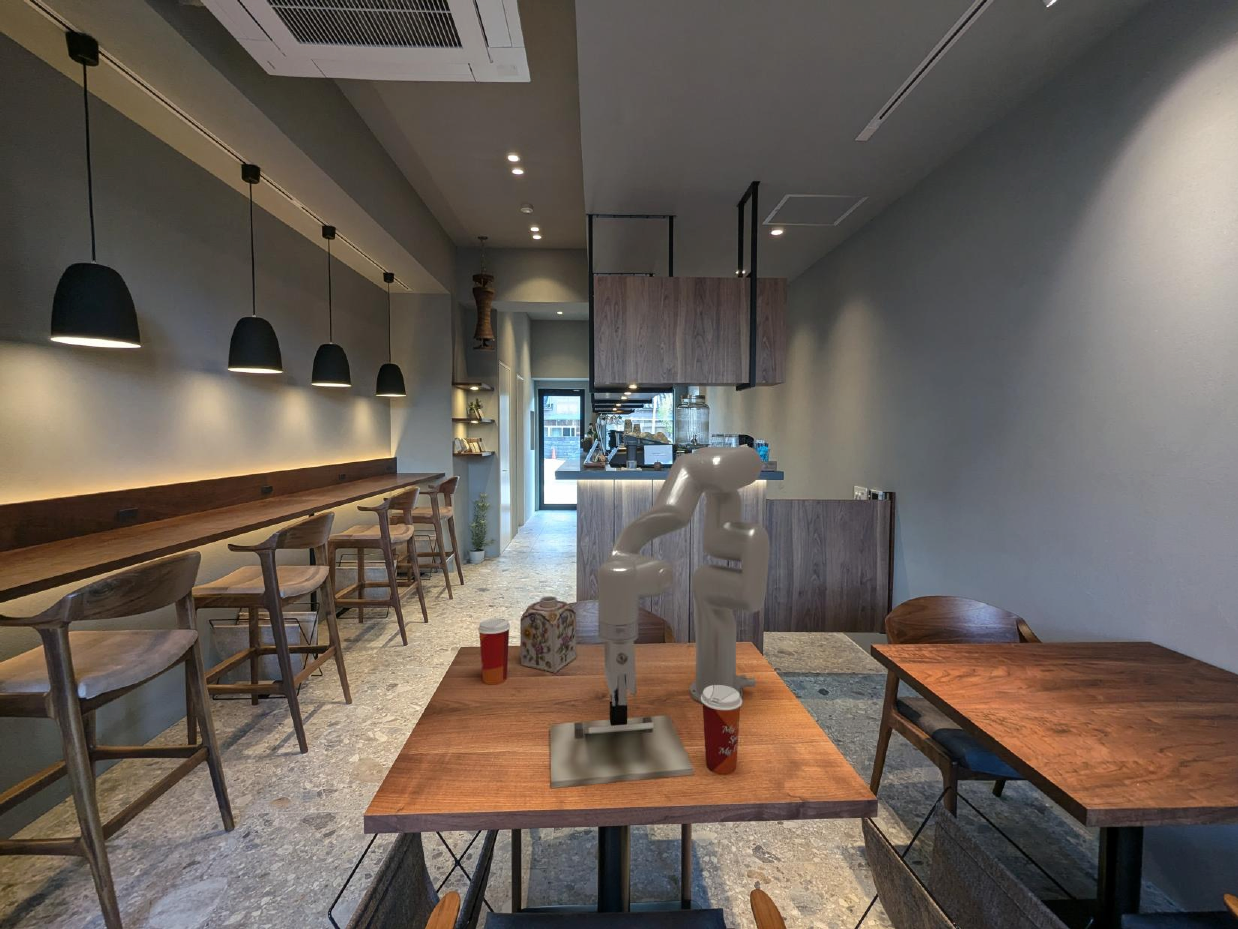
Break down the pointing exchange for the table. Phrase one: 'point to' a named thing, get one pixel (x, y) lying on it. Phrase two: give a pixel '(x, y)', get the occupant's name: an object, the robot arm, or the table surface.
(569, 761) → the tile board
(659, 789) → the table surface
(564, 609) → the decorative jar
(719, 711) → the paper cup
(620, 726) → the glazed tile
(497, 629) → the coffee cup
